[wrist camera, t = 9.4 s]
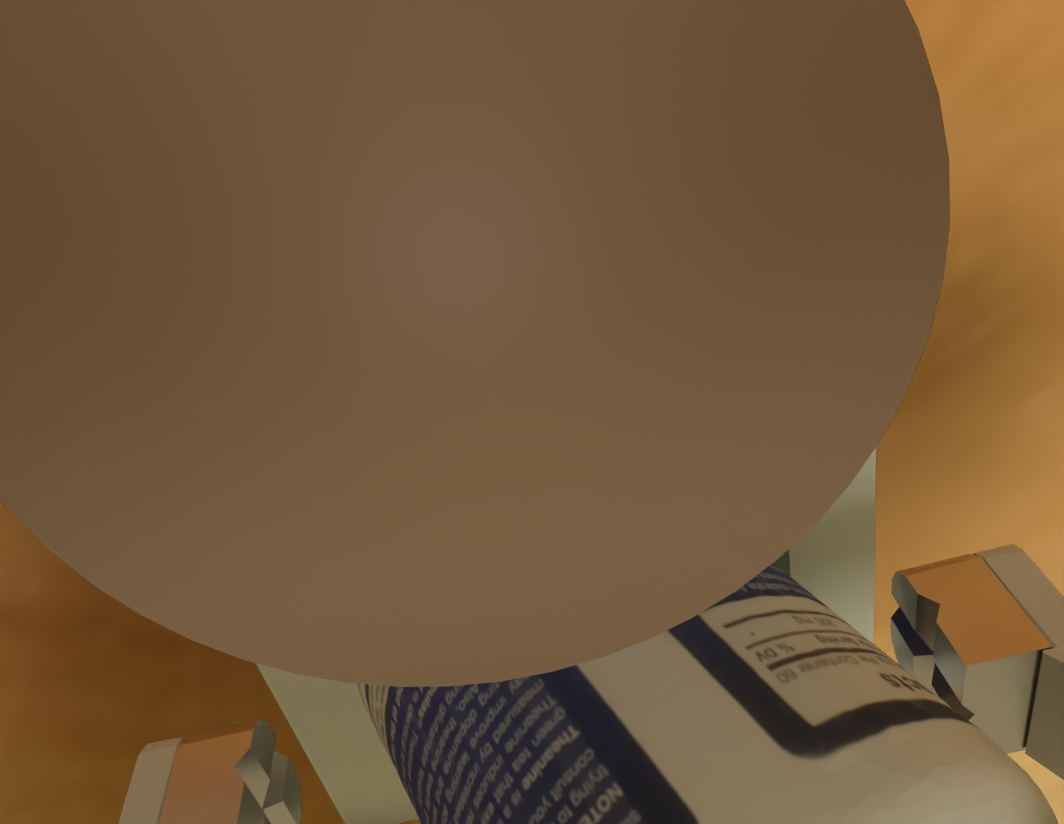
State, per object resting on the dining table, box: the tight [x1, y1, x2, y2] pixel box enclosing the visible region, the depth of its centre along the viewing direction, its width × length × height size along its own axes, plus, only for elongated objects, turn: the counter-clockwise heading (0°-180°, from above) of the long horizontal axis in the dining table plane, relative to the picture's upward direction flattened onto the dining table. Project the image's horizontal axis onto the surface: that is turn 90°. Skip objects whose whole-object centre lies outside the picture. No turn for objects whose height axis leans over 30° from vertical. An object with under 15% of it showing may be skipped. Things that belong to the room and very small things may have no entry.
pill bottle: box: [355, 563, 1058, 824], centre depth 10 cm, size 5×5×10 cm
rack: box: [256, 448, 876, 824], centre depth 13 cm, size 16×9×4 cm, turn 12°
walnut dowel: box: [0, 0, 950, 687], centre depth 8 cm, size 4×4×9 cm
